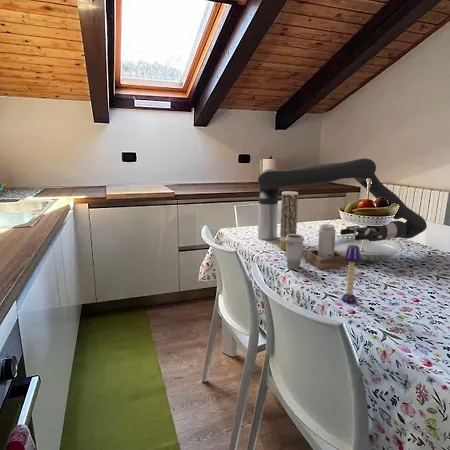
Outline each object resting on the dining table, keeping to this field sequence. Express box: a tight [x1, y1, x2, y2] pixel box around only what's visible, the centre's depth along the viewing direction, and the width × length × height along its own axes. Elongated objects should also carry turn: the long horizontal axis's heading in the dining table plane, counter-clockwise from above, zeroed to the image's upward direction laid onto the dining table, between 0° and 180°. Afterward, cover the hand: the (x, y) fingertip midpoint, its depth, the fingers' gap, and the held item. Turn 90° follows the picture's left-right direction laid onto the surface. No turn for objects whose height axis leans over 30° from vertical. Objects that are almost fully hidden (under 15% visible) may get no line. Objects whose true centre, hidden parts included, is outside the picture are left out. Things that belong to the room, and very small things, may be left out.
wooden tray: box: [304, 249, 347, 271], centre depth 132 cm, size 11×11×4 cm
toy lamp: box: [341, 244, 362, 304], centre depth 100 cm, size 5×5×17 cm
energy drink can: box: [317, 223, 337, 258], centre depth 131 cm, size 6×6×15 cm
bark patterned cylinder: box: [279, 190, 299, 251], centre depth 148 cm, size 7×7×25 cm
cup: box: [285, 233, 305, 270], centre depth 128 cm, size 7×7×12 cm
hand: (348, 234), depth 133 cm, fingers open, 8 cm apart
